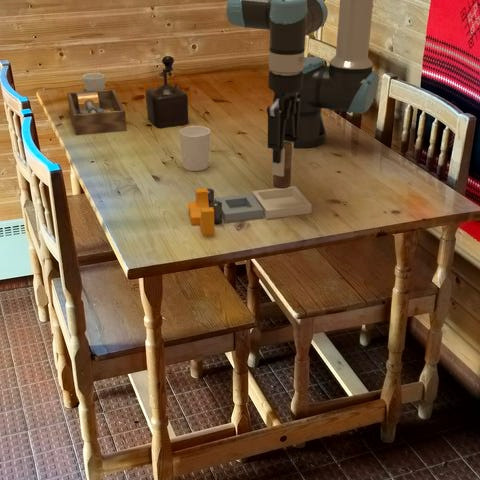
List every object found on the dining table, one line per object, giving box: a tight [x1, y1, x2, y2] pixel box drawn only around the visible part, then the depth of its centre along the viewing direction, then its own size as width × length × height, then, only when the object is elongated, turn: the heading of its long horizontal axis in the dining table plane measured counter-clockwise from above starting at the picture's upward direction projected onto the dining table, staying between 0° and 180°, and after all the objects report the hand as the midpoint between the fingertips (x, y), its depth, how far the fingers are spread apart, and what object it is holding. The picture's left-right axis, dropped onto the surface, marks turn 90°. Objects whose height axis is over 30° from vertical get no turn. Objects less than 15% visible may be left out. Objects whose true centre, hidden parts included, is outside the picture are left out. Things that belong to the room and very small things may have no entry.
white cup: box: [179, 125, 211, 172], centre depth 191 cm, size 8×8×10 cm
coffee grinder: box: [145, 55, 190, 129], centre depth 223 cm, size 16×11×18 cm
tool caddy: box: [66, 88, 128, 136], centre depth 224 cm, size 15×23×6 cm, turn 17°
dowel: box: [272, 141, 292, 189], centre depth 166 cm, size 4×4×10 cm
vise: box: [76, 92, 111, 114], centre depth 224 cm, size 18×10×7 cm, turn 18°
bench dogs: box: [207, 188, 223, 225], centre depth 166 cm, size 3×10×5 cm, turn 16°
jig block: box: [214, 193, 264, 224], centre depth 168 cm, size 9×9×2 cm
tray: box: [251, 185, 313, 220], centre depth 171 cm, size 11×11×3 cm
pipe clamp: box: [187, 187, 215, 237], centre depth 162 cm, size 12×4×6 cm, turn 10°
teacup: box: [82, 72, 106, 91], centre depth 252 cm, size 10×8×5 cm
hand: (282, 171), depth 167 cm, fingers closed on dowel, 4 cm apart
